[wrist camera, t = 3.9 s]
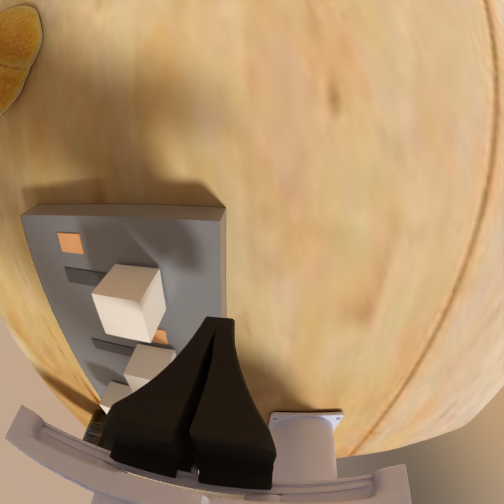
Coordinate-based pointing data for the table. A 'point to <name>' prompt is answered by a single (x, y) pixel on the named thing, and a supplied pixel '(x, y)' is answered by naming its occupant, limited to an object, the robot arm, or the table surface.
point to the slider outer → (130, 302)
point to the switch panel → (134, 254)
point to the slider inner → (114, 395)
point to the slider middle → (146, 364)
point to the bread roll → (17, 50)
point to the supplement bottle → (97, 432)
